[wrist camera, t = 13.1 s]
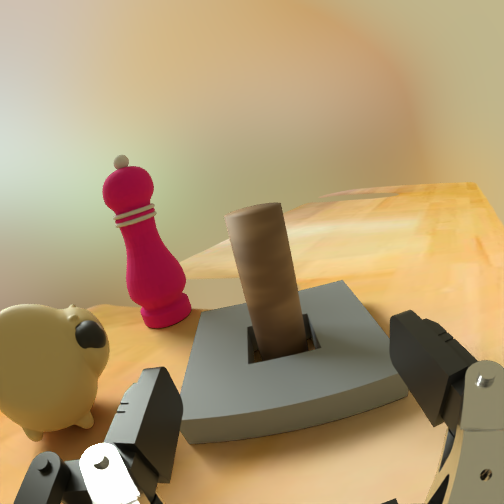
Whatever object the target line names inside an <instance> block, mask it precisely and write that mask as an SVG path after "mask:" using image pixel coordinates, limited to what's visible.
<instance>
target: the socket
mask: <svg viewBox="0 0 504 504" xmlns="http://www.w3.org/2000/svg"><path fill="white" fill-rule="evenodd" d="M298 294H299V299H300V305H301V310H302V316H303V322H304V328H305V334H306V339H309V338H311V339H312V341H313V344H314V347H315V350H311V351H307V352H303V353H299V354H295V355H290V356H286V357H282V358H277V359H272V360H268V361H263V362H258V363H255V360H254V351H255V350H259V348H258V344H257V340H256V337H255V333H254V329H253V326H252V322H251V318H250V314H249V311H248V307H247V303H243V304H239V305H234V306H229V307H224V308H220V309H214V310H209V311H204V312H201V316H200V320H199V323H198V327H197V331H196V335H195V338H194V342H193V346H192V350H191V354H190V357H189V361H188V365H187V369H186V373H185V377H184V381H183V385H182V389H181V393H180V396H181V399H182V402H183V416H182V421H181V426H180V431H181V433H182V434H183V436H184V437H185V439H186V440H187V442H188V443H189V444H198V443H212V442H223V441H232V440H241V439H248V438H255V437H262V436H268V435H274V434H279V433H284V432H289V431H294V430H299V429H304V428H308V427H312V426H316V425H320V424H324V423H328V422H332V421H335V420H339V419H342V418H346V417H349V416H353V415H356V414H359V413H362V412H365V411H368V410H371V409H374V408H377V407H380V406H383V405H385V404H388V403H391V402H393V401H396V400H398V399H401V398H404V397H406V396H408V387H407V386H406V384H405V383H404V381H403V380H402V378H401V377H400V375H399V374H398V372H397V371H396V369H395V368H394V366H393V364H392V362H391V359H390V354H389V344H390V339H389V337H388V336H387V335H386V334H385V332H384V331H383V330H382V328H381V327H380V326H379V325H378V323H377V322H376V321H375V320H374V318H373V317H372V316H371V315H370V313H369V312H368V311H367V310H366V308H365V307H364V306H363V305H362V303H361V302H360V301H359V300H358V298H357V297H356V296H355V295H354V293H353V292H352V291H351V290H350V289H349V287H348V286H347V285H346V284H345V282H344V281H343V280H341V281H337V282H333V283H329V284H325V285H321V286H317V287H313V288H309V289H305V290H301V291H298Z"/></svg>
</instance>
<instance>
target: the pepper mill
mask: <svg viewBox="0 0 504 504" xmlns="http://www.w3.org/2000/svg"><path fill="white" fill-rule="evenodd" d="M128 164H129V160H128V158H127V157H126V156H125V155H119V156H117V157H116V158H115V160H114V166H115V168H116V169H117V170H116V171H115V172H113V173H112V174H110V175H109V176H108V178H107V179H106V180H105V182H104V185H103V198H104V202H105V204H106V205H107V206H108V207H109V208H110V209H112V210H113V211H114V212H115V214H116V215H115V216H114V217H113V219H114V220H116V221H115V222H116V225H115V226H116V227H117V228H120V230H121V233H122V235H123V238H124V241H125V245H126V251H127V274H126V282H127V289H128V292H129V295H130V297H131V299H132V300H133V301H134V302H135V303H137V304H139V305H141V306H142V308H141V315H142V317H143V320H144V322H145V324H146V325H147V326H148V327H151V328H163V327H168V326H171V325H173V324H176V323H178V322H180V321H181V320H183V319H184V318H185V317H187V316H188V315H189V313H190V312H191V304H190V302H189V299H188V296H187V295H186V294H185V293H182V291H183V289H184V287H185V283H186V277H185V274H184V272H183V269H182V267H181V266H180V264H179V262H178V261H177V260H176V259H175V257H174V256H173V255H172V254H171V253H170V252H169V250H168V249H167V248H166V247H165V245H164V243H163V242H162V240H161V238H160V236H159V234H158V231H157V228H156V224H155V220H154V216H155V215H156V212H155V209H154V208H153V207H154V204H150V199H151V196H152V194H153V190H154V186H153V182H152V179H151V177H150V175H149V173H148V172H147V171H145V170H144V169H142V168H140V167H136V166H130V167H127V166H128Z"/></svg>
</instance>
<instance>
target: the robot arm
mask: <svg viewBox="0 0 504 504" xmlns="http://www.w3.org/2000/svg"><path fill="white" fill-rule="evenodd" d="M389 354H390V359H391V362H392V364H393V366H394V368H395V369H396V371H397V372H398V374H399V375H400V377H401V378H402V380H403V381H404V383H405V384H406V386H407V387H408V389H409V390H410V392H411V393H412V395H413V396H414V398H415V399H416V401H417V402H418V404H419V405H420V407H421V408H422V410H423V411H424V413H425V414H426V416H427V418H428V419H429V421H430V422H431V424H432V425H433V427H435V426H437V425H439V424H441V423H443V422H445V423H446V425H447V426H448V428H447V430H446V434H445V439H444V444H443V448H442V452H441V457H440V461H439V464H438V468H437V472H436V475H435V478H434V481H433V483H432V485H431V488H430V490H429V492H428V495H427V497H426V500H425V502H424V504H504V368H503V367H502V366H501V365H500V364H498V363H496V362H493V361H488V360H484V361H477V360H476V359H475V358H474V357H473V356H472V355H471V354H470V353H469V352H468V351H467V350H466V349H465V348H464V347H463V346H462V345H461V344H460V343H459V342H458V341H457V340H455V339H453V337H452V336H451V335H450V334H449V333H447V332H446V330H445V329H444V328H443V327H442V326H440V325H439V324H438V323H436V322H434V321H431V320H429V319H423V320H422V319H421V318H420V317H419V316H418V315H417V314H416V313H415V312H413V311H412V310H408V311H405V312H402V313H400V314H397V315H394V316H392V317H391V318H390V344H389ZM120 403H121V405H119V407H118V409H117V413H116V414H115V416H114V418H113V421H112V423H111V425H110V428H109V430H108V433H107V435H106V437H105V440H104V442H103V443H101V444H96V445H94V446H92V447H90V448H89V449H87V450H86V451H85V452H84V454H83V455H82V457H81V459H78V460H71V461H63V460H62V459H61V458H60V457H59V456H58V455H57V454H56V453H54V452H51V451H47V452H43V453H40V454H39V455H37V456H36V457H35V458H34V459H33V461H32V463H31V465H30V467H29V469H28V471H27V473H26V475H25V478H24V480H23V482H22V484H21V487H20V489H19V491H18V494H17V496H16V499H15V501H14V504H60V503H61V502H62V503H64V504H166V503H165V502H164V500H163V499H162V497H161V496H160V494H159V493H158V492H157V491H156V487H157V483H170V479H171V473H172V468H173V462H174V457H175V452H176V447H177V441H178V436H179V431H180V426H181V421H182V416H183V402H182V399H181V396H180V394H179V392H178V390H177V388H176V386H175V384H174V383H173V381H172V379H171V377H170V375H169V372H168V371H167V369H166V368H165V367H156V368H147V369H144V370H143V371H142V373H141V375H140V378H139V380H138V382H137V383H133V385H132V386H131V387H130V388H129V389H128V390H127V391H126V392H125V394H124V396H123V398H122V400H121V402H120ZM382 504H398V503H397V500H396V498H395V499H392V500H390V501H387V502H385V503H382Z"/></svg>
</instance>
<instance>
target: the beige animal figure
mask: <svg viewBox="0 0 504 504" xmlns="http://www.w3.org/2000/svg"><path fill="white" fill-rule="evenodd" d="M109 350H110V349H109V341H108V337H107V335H106V332H105V330H104V328H103V326H102V325H101V323H100V322H99V320H98V319H97V318H96V317H95V316H94V315H93V314H92V313H91V312H89V311H88V310H86V309H83V308H78V307H76V306H75V305H74V304H73V305H72V304H71V305H70V306H69V308H66V309H55V308H52V307H48V306H44V305H38V304H22V305H16V306H12V307H9V308H6V309H4V310H2V311H0V410H1V411H2V412H3V413H4V414H5V415H6V416H7V417H8V418H9V419H11V420H12V421H13V422H15V423H17V424H19V425H20V426H21V427H22V428H23V430H24V432H25V434H26V435H27V436H28V438H29V439H31V440H32V441H35V442H38V441H40V440H41V439H42V437H43V432H50V431H57V430H61V429H64V428H67V427H69V426H71V425H78V426H80V427H82V428H84V429H89V428H91V427H92V426H93V424H94V419H93V416H92V414H91V412H90V409H91V408H92V406H93V404H94V401H95V398H96V394H97V386H98V382H97V381H98V378H99V376H100V375H101V373H102V372H103V370H104V368H105V366H106V364H107V362H108V358H109Z"/></svg>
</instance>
